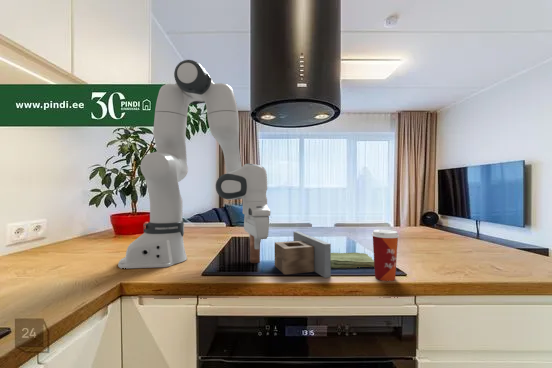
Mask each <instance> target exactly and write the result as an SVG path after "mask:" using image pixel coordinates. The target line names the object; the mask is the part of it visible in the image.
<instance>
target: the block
mask: <svg viewBox="0 0 552 368" xmlns="http://www.w3.org/2000/svg"><path fill="white" fill-rule="evenodd" d="M274 267H275V268H276V269H278V270H279V271H280V272H281V273H282V274H283V275H294V274H306V273H315V271H314V246H312V245H310V244H308V243H305V242H303V241H293V240H292V241H291V240H290V241H276V242H274Z"/></svg>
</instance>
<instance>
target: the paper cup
mask: <svg viewBox="0 0 552 368" xmlns="http://www.w3.org/2000/svg"><path fill="white" fill-rule="evenodd" d="M398 233H399V232H398V231H396V230H393V229H374V230H373V231H372V233H371V236H372V244H373V245H372V248H373V249H372V250H373V251H372V252H373V260H374V268H373V269H374V278H375V279H376V280H378V281H382V282H393V281H395V280H396V273H397V272H396V271H397V256H398V240H399V237H400V235H399V234H398Z"/></svg>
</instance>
